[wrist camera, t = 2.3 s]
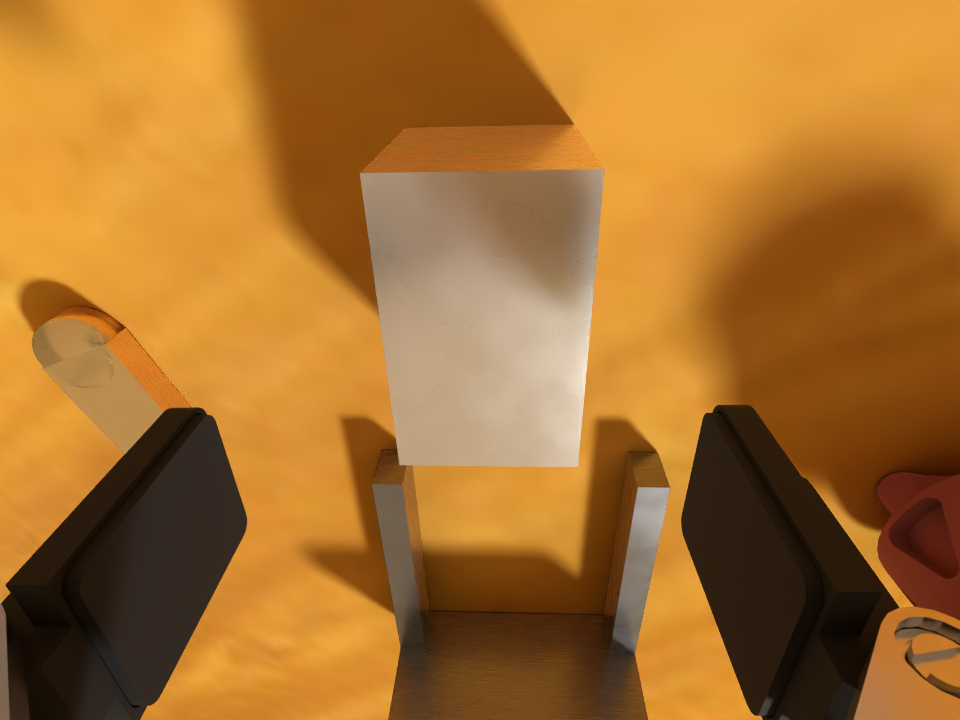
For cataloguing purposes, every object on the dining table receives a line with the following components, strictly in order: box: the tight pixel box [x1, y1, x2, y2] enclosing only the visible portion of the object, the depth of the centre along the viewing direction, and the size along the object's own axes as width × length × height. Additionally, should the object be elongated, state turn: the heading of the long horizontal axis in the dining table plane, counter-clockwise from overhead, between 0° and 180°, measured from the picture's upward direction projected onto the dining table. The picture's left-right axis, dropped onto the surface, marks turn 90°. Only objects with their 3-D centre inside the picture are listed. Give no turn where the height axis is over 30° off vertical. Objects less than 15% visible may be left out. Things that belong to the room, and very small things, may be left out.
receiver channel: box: [372, 450, 670, 720], centre depth 23 cm, size 12×11×6 cm
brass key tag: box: [32, 307, 191, 455], centre depth 21 cm, size 7×3×1 cm, turn 22°
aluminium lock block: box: [360, 124, 604, 467], centre depth 16 cm, size 9×5×6 cm, turn 2°
